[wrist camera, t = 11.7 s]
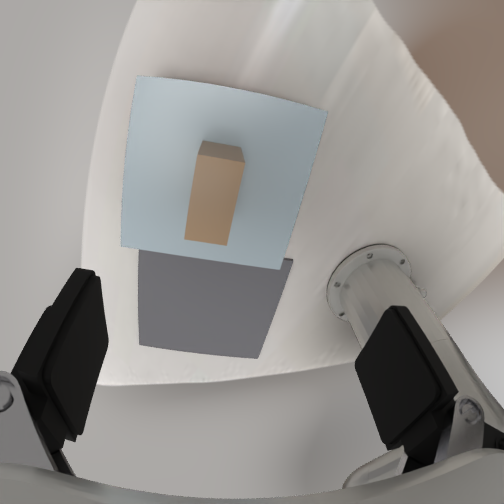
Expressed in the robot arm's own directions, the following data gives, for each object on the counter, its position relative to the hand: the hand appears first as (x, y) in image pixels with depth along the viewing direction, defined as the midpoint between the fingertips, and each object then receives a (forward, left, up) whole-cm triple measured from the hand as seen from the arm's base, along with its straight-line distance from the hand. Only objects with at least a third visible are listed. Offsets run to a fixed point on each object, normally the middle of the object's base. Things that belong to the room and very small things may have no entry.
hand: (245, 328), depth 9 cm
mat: (-1, +20, -23) cm, 31 cm away
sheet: (+1, +1, -17) cm, 17 cm away
